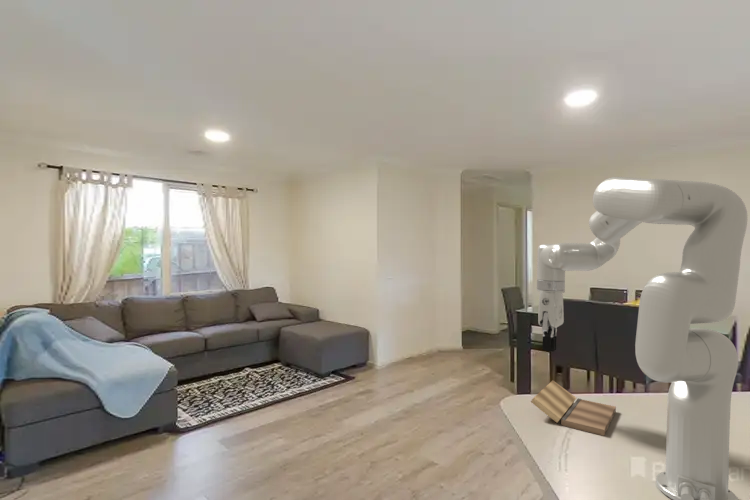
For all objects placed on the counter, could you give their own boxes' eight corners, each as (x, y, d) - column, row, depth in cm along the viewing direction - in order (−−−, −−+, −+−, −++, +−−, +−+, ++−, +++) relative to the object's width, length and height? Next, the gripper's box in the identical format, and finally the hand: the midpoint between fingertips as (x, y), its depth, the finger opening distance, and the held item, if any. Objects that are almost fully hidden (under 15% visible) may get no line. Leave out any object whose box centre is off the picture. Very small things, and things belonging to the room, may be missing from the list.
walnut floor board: (604, 435, 105) (604, 429, 105) (561, 425, 111) (561, 419, 111) (615, 411, 121) (615, 406, 121) (577, 403, 127) (577, 398, 127)
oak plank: (557, 423, 112) (560, 418, 111) (530, 401, 116) (533, 397, 115) (573, 401, 128) (576, 398, 127) (550, 383, 132) (552, 380, 131)
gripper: (557, 289, 114) (556, 357, 114) (570, 285, 126) (569, 347, 126) (529, 287, 118) (527, 352, 118) (544, 284, 131) (543, 343, 131)
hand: (549, 349), depth 122 cm, fingers closed
